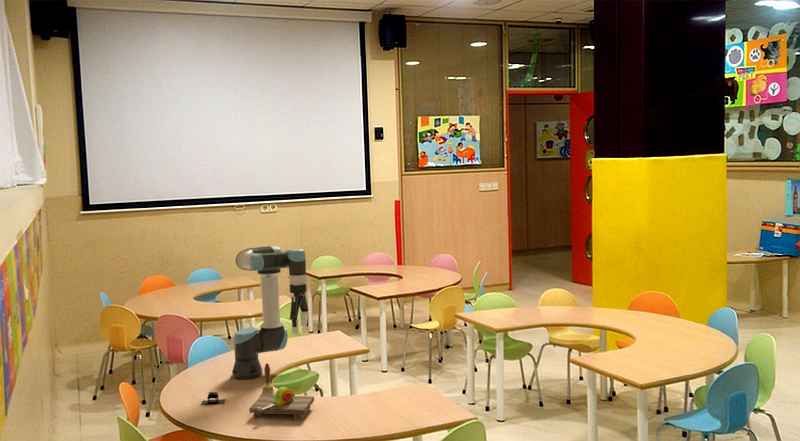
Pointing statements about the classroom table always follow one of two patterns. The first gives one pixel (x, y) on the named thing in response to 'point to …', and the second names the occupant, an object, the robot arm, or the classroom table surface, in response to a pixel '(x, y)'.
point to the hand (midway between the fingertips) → (299, 329)
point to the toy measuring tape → (281, 397)
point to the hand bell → (267, 383)
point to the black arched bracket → (213, 402)
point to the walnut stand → (282, 406)
